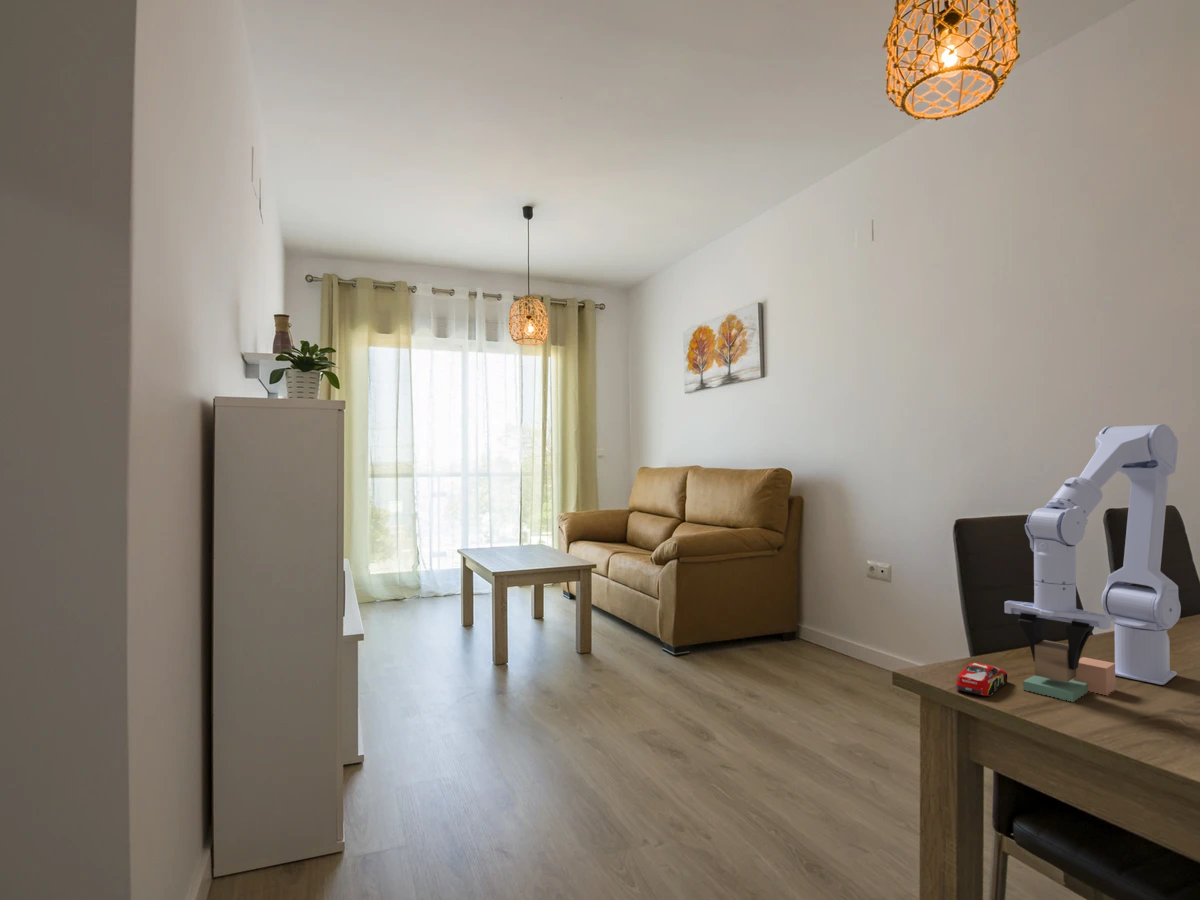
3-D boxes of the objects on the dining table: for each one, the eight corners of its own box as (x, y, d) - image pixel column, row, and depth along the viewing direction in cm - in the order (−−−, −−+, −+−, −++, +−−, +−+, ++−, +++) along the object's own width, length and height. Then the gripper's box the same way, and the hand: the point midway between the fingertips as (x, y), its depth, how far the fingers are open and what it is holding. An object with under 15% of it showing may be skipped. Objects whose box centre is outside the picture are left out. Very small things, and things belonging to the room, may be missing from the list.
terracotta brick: (1083, 683, 116) (1083, 657, 116) (1115, 690, 112) (1115, 663, 112) (1073, 689, 113) (1073, 661, 113) (1106, 696, 109) (1106, 668, 109)
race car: (977, 675, 120) (977, 653, 121) (1011, 683, 117) (1011, 659, 117) (949, 692, 111) (949, 668, 111) (986, 701, 107) (986, 676, 108)
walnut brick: (1044, 669, 115) (1044, 640, 115) (1076, 676, 111) (1075, 645, 111) (1034, 675, 112) (1034, 644, 112) (1066, 682, 108) (1066, 650, 108)
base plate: (1039, 681, 116) (1039, 672, 116) (1087, 692, 111) (1087, 683, 111) (1023, 690, 112) (1023, 681, 112) (1073, 702, 106) (1072, 692, 106)
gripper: (996, 577, 115) (997, 658, 115) (1100, 591, 103) (1100, 680, 103) (1013, 573, 119) (1013, 651, 119) (1114, 585, 108) (1114, 671, 108)
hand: (1055, 664), depth 111 cm, fingers closed on walnut brick, 4 cm apart
